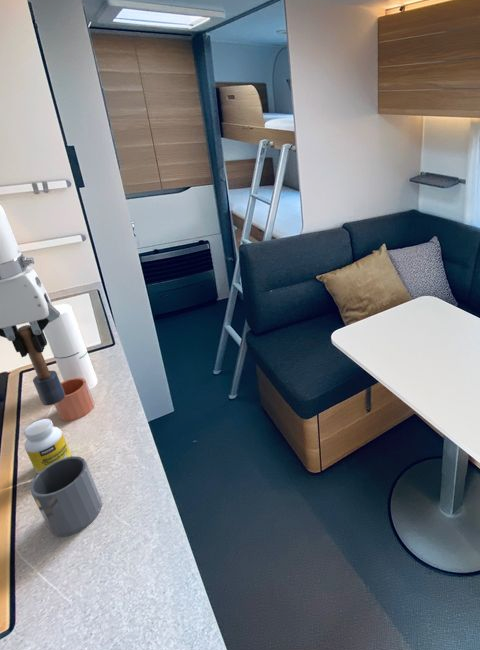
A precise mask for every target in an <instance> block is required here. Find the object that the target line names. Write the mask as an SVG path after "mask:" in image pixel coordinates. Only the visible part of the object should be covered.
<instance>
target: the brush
mask: <svg viewBox="0 0 480 650" xmlns="http://www.w3.org/2000/svg"><path fill="white" fill-rule="evenodd" d="M17 329H18V331H19V334H20V336H21V338H22V341H23V343H24V345H25V348H26V350H27V352H28V353H27V356H28V357H29V359H30V362H31V364H32V366H33V369H34V372H35V374H36V376H34V377H33V379H32V382H33V385H34V387H35V390H36V392H37V394H38V396H39V399H40V402H41V403H42V405H44V406H54V404H56V403H58V402H60V401H61V400H62V399H63V398H64V397H65V393H64V390H63V388H62V385H61V380H60V378H59V375H58V373H57V371H56V370H49V367H48V365H47V362H46V360H45V358H44V355H43V352H41V353H39V352H37V349H36V347H35V344H34V342H33V340H32V335H33V333H32V332H33V331H32V329H31V326H30V324H25V325H22V326H20V327H19V328H17Z"/></svg>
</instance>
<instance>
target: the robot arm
mask: <svg viewBox="0 0 480 650" xmlns="http://www.w3.org/2000/svg"><path fill="white" fill-rule="evenodd" d="M32 265H35V260H34V258H33V257H26V256H24V254H23V253H22V252H21V249H20V248H19V244H18V242H17V239H16V237H15V234H14V232H13V228H12V227H11V223H10V222H9V218H8V215H7V214H6V211H5V209H4V207H3V206H2V205H1V204H0V337H2V338H4V339H7V341H9V342H11V343H12V345H13V348H14V349H15V352H16V353H19V354H20V357H21V358H24V357H27V356H28V352H27V350H26V348H25V345H24V343H23V341H22V338H21V336H20V334H19V331H18V329H19V328H18V327H17V326H19V325H23V324H28V325H30V326H31V329H32V331H33V332H32V333H33V335H32V340H33V342H34V344H35V347H36V349H37V352H39V353H41V352H42V353H43V352H44V350H45V347H46V346H48V340H47V338H46V335H45V333H44V330H43V329H44V328H45V327H46V326H47V324H48V323H49V322H52V321H53V320H55V319H57V318H58V317H59V315H60V312H59V311H57V310H56V309H55V308H54V307H53V306H54V305H53V304H52V299H51V298H50V296H49V293H48V292H47V290H46V288H45V285H44V284H43V282H42V280H41V278H40V277H39V275H38V274H37V272H36V271H35V269H34V268H33V267H30V266H32Z"/></svg>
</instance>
